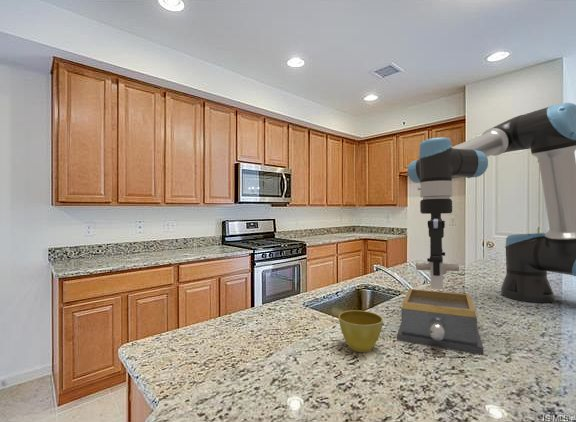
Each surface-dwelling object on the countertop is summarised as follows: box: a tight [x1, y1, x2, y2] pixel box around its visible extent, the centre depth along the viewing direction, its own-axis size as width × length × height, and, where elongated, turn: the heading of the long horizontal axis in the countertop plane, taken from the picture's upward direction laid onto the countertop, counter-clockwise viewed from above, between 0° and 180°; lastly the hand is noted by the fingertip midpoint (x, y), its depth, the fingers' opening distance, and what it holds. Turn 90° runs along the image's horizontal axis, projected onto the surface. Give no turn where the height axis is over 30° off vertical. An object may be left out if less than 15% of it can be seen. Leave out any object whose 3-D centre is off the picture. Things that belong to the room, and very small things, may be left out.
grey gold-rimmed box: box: [396, 288, 484, 355], centre depth 77 cm, size 18×22×9 cm
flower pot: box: [338, 309, 384, 353], centre depth 71 cm, size 10×10×7 cm
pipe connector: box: [415, 262, 460, 276], centre depth 79 cm, size 10×10×10 cm
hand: (437, 283), depth 79 cm, fingers closed on pipe connector, 10 cm apart
